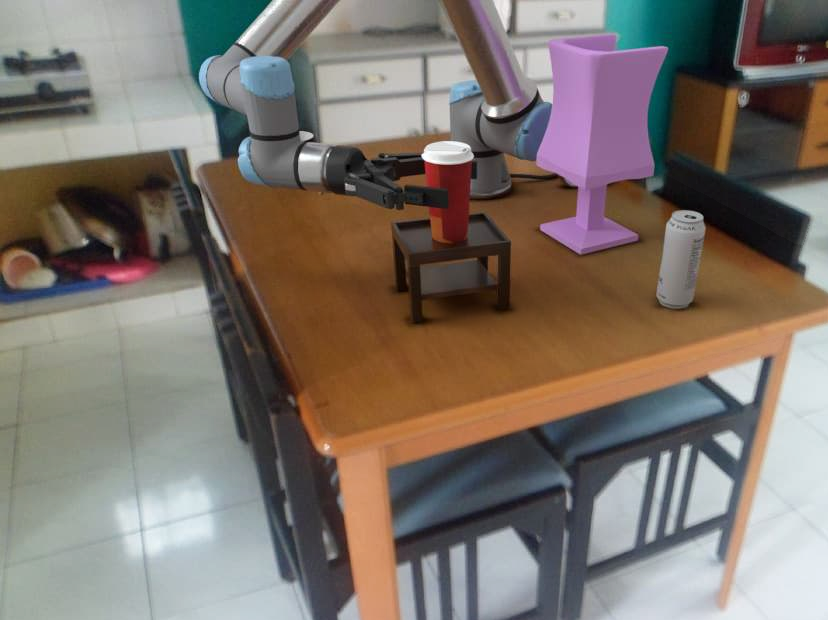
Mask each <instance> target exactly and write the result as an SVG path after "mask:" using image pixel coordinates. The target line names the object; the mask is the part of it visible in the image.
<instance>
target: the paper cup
mask: <svg viewBox="0 0 828 620" xmlns="http://www.w3.org/2000/svg"><path fill="white" fill-rule="evenodd" d="M422 153H423V154H422V155H421V156H422V158H423V159H424V160H425V171H426V174H425V180H426V187H433V188H442V189H448V192H449V208H448V209H442V208H434V207H428V211H429V218H430V221H431V230H432V236H433V239H434V240H436V241H438V242H442V243H458V242H461V241H464V240H465V239H466V238H467V235H468V223H469V214H470V203H471V202H470V201H471V199H470V187H471V163H472V159H473V158H474V155H473V153H472V152H471V148H470V146H469V145H467V144H465V143H461V142H455V141H451V140H442V141H435V142H432V143H429V144H427V145H426V146H425V147H424V149H423V152H422Z"/></svg>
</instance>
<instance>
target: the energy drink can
mask: <svg viewBox="0 0 828 620" xmlns="http://www.w3.org/2000/svg"><path fill="white" fill-rule="evenodd" d="M706 229H707V228H706V224H705V222H704V215H703V214H701V213H700V212H697V211H694V210H688V209H687V210H686V209H681V210H675V211H673V212H672V213H671V217H670V218H669V219H668V221H667V223H666V226H665V233H664V240H663V247H662V252H661V259H660V260H661V261H660V267H659V268H660V269H659V274H658V281H657V287H656V298H657V299H658V303H659V304H661V306H663V307H665V308H669V309H673V310H681V309H685V308H687V307H688V306H689V305H690V304H691V303H692V302H693V301H694V298H695V291H696V285H697V280H698V275H699V269H700V263H701V257H702V251H703V246H704V240H705V236H706V235H705V234H706Z"/></svg>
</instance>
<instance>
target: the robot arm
mask: <svg viewBox="0 0 828 620" xmlns="http://www.w3.org/2000/svg"><path fill="white" fill-rule="evenodd" d="M340 1H341V0H271V1H270V3H269V4H268V5H267V6H266V7H265V8H264V10H263V11H262V12H261V13H259V15H258V16H257V17H256V18H255V20H254V21H253V22H252V23H251V24H250V25H249V26H248V28H246V29H245V31H243V33H242V34H241V35H240V37H238V39H237V40H236V41H235V42H234V43H233V44H232V45H231V47H229V48H228V50H227V51H226V52H225V53H224V54H223V55H222V54H218V55H212V56H210V57H208V58H206V59H205V60H204V61H203V63H202V64H201V66H200V69H199V73H198V81H199V85H200V87H201V89H202V91H203V93H204V94H205V96H206V97H208V98H209V99H211V101H214V102H215V103H216V104H218V105H220V106H221V107H224V108H229V109H231V110H234V111H235V112H237V113H240V114H242V115H244V116H246V117H247V123H248V129H249V135H250V136H247V137H246V138H244V139H243V140H242V141H241V143H240V145H239V147H238V154H239V155H238V158H237V165H238V169H239V171H240V174H241V175H242V177H243V178H244V179H245V181H247V182H249V183H251V184H255V185H259V186H264V187H268V188H274V189H276V188H278V189H289V190H298V191H306V192H314V193H315V192H317V194H318V195H320V196H323V195H324V194H334V195H339V196H346V197H355V198H356V197H357V198H359V199H362V200H364V201H367V202H370V203H372V204H374V205H377V206H380V207H382V208H384V209H388V210H394V209H395V210H396V211H403V210H405V207H404V206H405V205H410V206H418V207H427V208H429V207H434V208H442V209H448V208H449V192H448V189H442V188H433V187H427V186H425V185H416V184H406V183H405V185H403V186H401V185H400V184H399V183H397V182H398V181H400V180H401V178H404V177H413V176H414V177H415V176H420V175H426V171H425V160H424V159H423V158H422V156H421V155H422V154H423V153H424V152H406V153H405V152H404V153H403V152H402V153H387V152H380V153H378V154H377V156H378V157H372V158H370V159H368V158H366V156H365V155H364V152H363V151H362V150H361V148H360V147H357V146H351V145H338V144H337V145H335V144H333V143H322V142H315V141H314V142H303V141H301V140H300V132H299V131H300V127H299V117H298V107H297V99H296V92H295V91H296V90H295V89H296V85H295V82H294V80H293V74H292V68H291V65H290V62H289V59H290V58H291V57H292V56H293V55H294V53H295V52H296V51H297V50H298V49H299V47H301V45H303V43H304V42H305V41H306V40H307V38H308V37H309V36H310V35H311V34H312V33H313V31H315V30H316V28H317V27H318V26H319V25H320V24H321V23H322V22H323V21H324V19H325V18H326V17H327V16H328V15H329V13H330V12H331V11H332V10H333V9H334V8H335V7H336V6H337V5H338V3H339V2H340ZM438 2H439V4H440V6H441V8H442V10H443V12H444V14H445V17H446V19H447V21H448V23H449V25H450V27H451V30H452V31H453V34H454V36H455V38H456V40H457V42H458V45H459V47H460V48H461V51H462V53H463V55H464V57H465V59H466V61H467V64H468V66H469V68H470V70H471V72H472V73H473V76H474V78H475V79H470V80H463V81H460V82H456V83H455V84H453V85H452V86H451V88H450V91H449V94H450V95H449V102H448V105H449V129H450V130H449V131H450V141H455V142H461V143H465V144H467V145H469V146H470V148H471V152H472V153H473V155H474V158H473V159H472V163H471V187H470V200H490V199H496V198H499V197H503V196H505V195H506V194H507V195H508V193H510V192H511V190H512V178H513V179H531V180H550V179H555V178H558V175H557V173H551V174H545V175H544V174H543V175H537V174H528V173H510V171H509V167H508V165H507V161H506V157H505V155H509V156H511V157H514V158H517V159H518V160H524V161H528V162H536V158H537V152H538V150H539V147H540V145H541V143H542V140H543V138H544V135H545V132H546V130H547V126H548V123H549V119H550V116H551V110H552V105H553V103H552V102H550V101H544V100H543V99H542V96H541V94H540V91H539V89H538V86H537V84H536V82H535V80H534V79H533V78H530V77H527V76H525V75H524V73H523V70H522V68H521V64H520V63H519V61H518V58H517V55H516V52H515V51H514V49H513V45H512V44H511V41H510V38H509V36H508V34H507V33H508V32H507V31H506V29H505V26H504V24H503V21H502V19H501V16H500V13H499V12H498V8H497V7H496V4H495V1H494V0H438ZM404 204H405V205H404Z"/></svg>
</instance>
